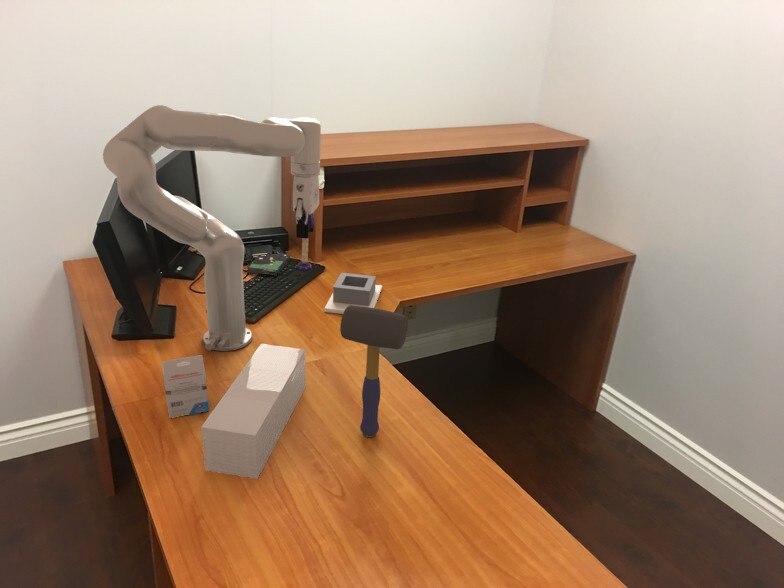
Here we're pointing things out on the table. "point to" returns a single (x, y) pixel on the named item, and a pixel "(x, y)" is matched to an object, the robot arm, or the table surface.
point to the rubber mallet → (373, 351)
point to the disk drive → (268, 263)
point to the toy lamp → (305, 248)
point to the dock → (353, 292)
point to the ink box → (185, 386)
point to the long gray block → (254, 411)
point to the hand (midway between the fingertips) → (305, 233)
